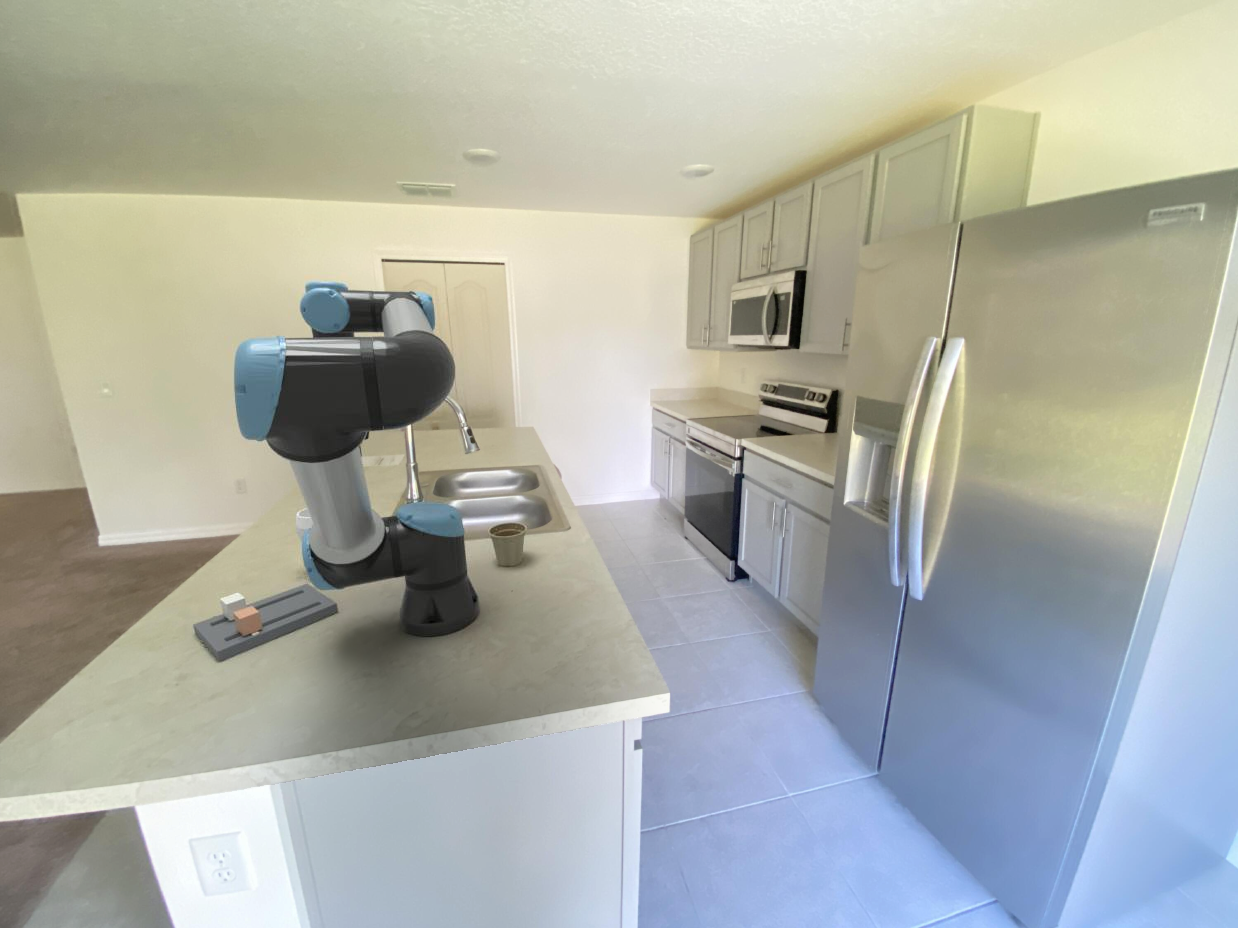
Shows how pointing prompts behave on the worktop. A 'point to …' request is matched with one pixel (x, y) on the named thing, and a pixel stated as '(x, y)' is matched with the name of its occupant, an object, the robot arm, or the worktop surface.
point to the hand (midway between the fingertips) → (353, 474)
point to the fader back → (232, 605)
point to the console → (266, 621)
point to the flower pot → (508, 542)
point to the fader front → (247, 620)
